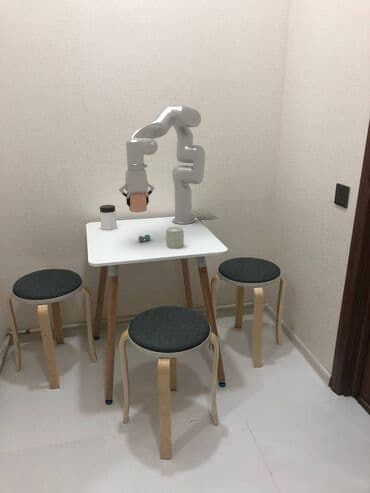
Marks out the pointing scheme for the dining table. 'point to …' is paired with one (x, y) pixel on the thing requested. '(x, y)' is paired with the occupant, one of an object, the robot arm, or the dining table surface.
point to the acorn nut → (174, 237)
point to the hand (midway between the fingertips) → (137, 205)
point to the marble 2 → (147, 237)
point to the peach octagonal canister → (138, 202)
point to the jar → (108, 217)
